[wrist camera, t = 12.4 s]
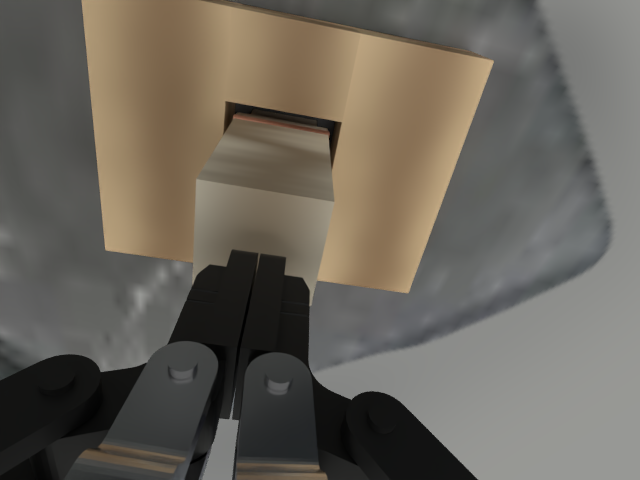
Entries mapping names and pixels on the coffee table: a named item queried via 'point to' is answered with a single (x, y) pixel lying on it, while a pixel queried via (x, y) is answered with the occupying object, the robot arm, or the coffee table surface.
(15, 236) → the coffee table surface
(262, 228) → the ash peg
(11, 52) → the coffee table surface
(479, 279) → the coffee table surface
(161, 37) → the oak board
